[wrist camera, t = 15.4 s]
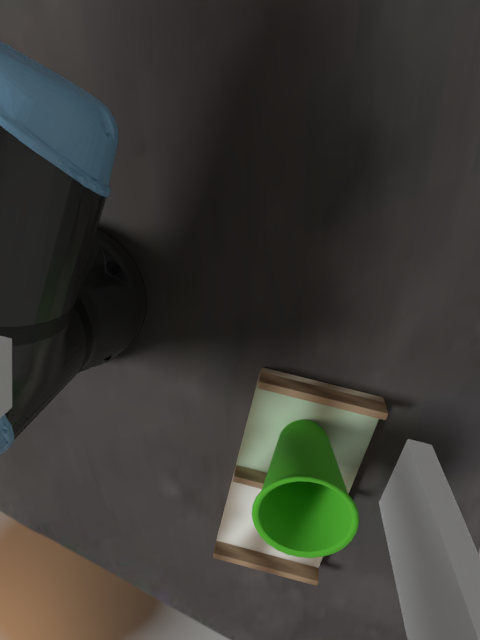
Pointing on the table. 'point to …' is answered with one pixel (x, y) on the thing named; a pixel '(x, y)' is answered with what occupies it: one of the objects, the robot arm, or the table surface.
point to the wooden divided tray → (258, 448)
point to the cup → (305, 496)
